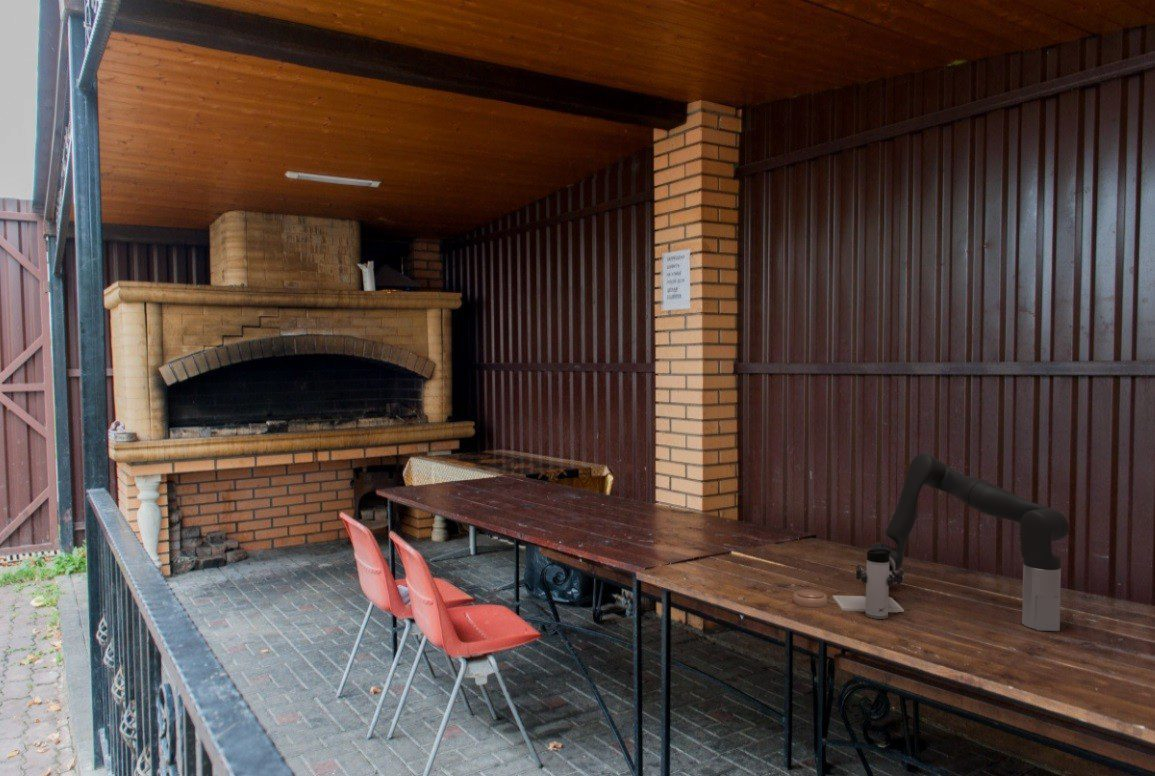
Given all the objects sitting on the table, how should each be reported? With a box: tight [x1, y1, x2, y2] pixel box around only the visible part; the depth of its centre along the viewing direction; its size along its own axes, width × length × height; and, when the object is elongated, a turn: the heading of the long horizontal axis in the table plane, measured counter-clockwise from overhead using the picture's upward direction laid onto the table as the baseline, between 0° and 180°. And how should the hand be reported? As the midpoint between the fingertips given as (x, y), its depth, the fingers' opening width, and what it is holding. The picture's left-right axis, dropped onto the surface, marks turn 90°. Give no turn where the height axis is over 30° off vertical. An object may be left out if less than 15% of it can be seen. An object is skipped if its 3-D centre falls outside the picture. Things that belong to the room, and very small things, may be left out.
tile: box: [832, 595, 905, 613], centre depth 248 cm, size 13×18×1 cm
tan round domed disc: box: [793, 588, 828, 608], centre depth 250 cm, size 10×10×3 cm
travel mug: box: [864, 549, 891, 620], centre depth 236 cm, size 6×7×20 cm
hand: (876, 581), depth 234 cm, fingers closed on travel mug, 6 cm apart
